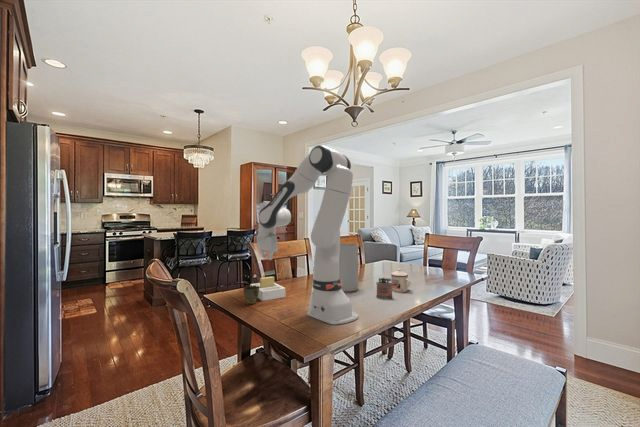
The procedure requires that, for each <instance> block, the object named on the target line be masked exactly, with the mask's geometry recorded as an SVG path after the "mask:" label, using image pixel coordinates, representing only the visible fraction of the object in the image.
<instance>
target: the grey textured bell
mask: <svg viewBox="0 0 640 427" xmlns="http://www.w3.org/2000/svg"><path fill="white" fill-rule="evenodd" d="M258 295H259V286H256V285H253V287H252V285H251V286H250V285H245V286H244V287H243V296H244V299H245V300H246V301H247V304H248V305H254V304H255V303H256V300H257V299H259V298H258Z"/></svg>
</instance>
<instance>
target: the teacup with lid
mask: <svg viewBox="0 0 640 427" xmlns="http://www.w3.org/2000/svg"><path fill="white" fill-rule="evenodd" d="M390 276H391V278H390V279H391V281H390V283H392V292H395V293H396V292H397V293H404V292H405V293H406V292H408V289H409V288H410V287H411V283H412V282H411V280H410V279H409V278H408V276H409V275H408V273H406V272H404V271H403V270H402V269H401V268H397V270H395V271H393V272H391V274H390Z"/></svg>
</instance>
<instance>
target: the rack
mask: <svg viewBox="0 0 640 427" xmlns="http://www.w3.org/2000/svg"><path fill="white" fill-rule="evenodd" d="M251 285H252V287H253V285H256V286H259V295H258V298H257V299H259V300H260V301H261V302H264V301H271V300H276V299H281V298H286V287H284V286H282V285H280V284H278V283H276V282H274V286H273V287H267V288H260V282H256V283H250V285H249V286H251Z"/></svg>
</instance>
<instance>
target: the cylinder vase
mask: <svg viewBox="0 0 640 427" xmlns="http://www.w3.org/2000/svg"><path fill="white" fill-rule="evenodd" d="M339 279H340V282H341V283H343V284H341V285H343V286H342V288H341V289H342V290H343V292H344V293H345V292H347V293H350V292H356V291H358V289H359V244H357V243H340V253H339Z"/></svg>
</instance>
